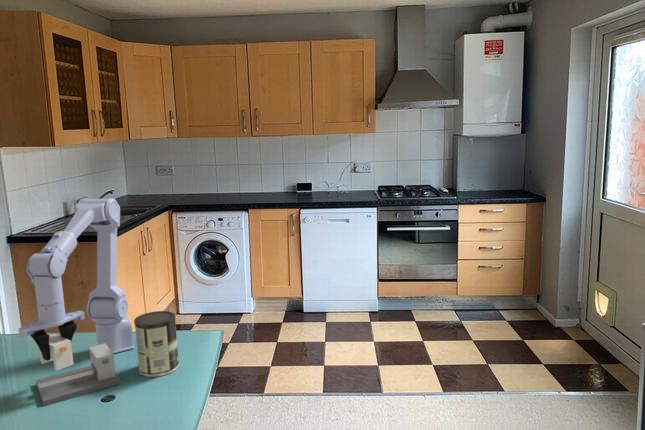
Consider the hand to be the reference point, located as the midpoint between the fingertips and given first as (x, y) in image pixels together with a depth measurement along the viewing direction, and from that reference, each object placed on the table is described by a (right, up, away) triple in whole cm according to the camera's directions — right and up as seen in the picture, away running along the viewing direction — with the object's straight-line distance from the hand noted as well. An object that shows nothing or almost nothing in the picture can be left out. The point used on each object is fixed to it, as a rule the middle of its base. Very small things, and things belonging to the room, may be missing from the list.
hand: (56, 355), depth 124 cm
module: (0, -2, 0) cm, 2 cm away
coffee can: (+21, -7, +11) cm, 25 cm away
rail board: (+4, -8, +4) cm, 9 cm away
